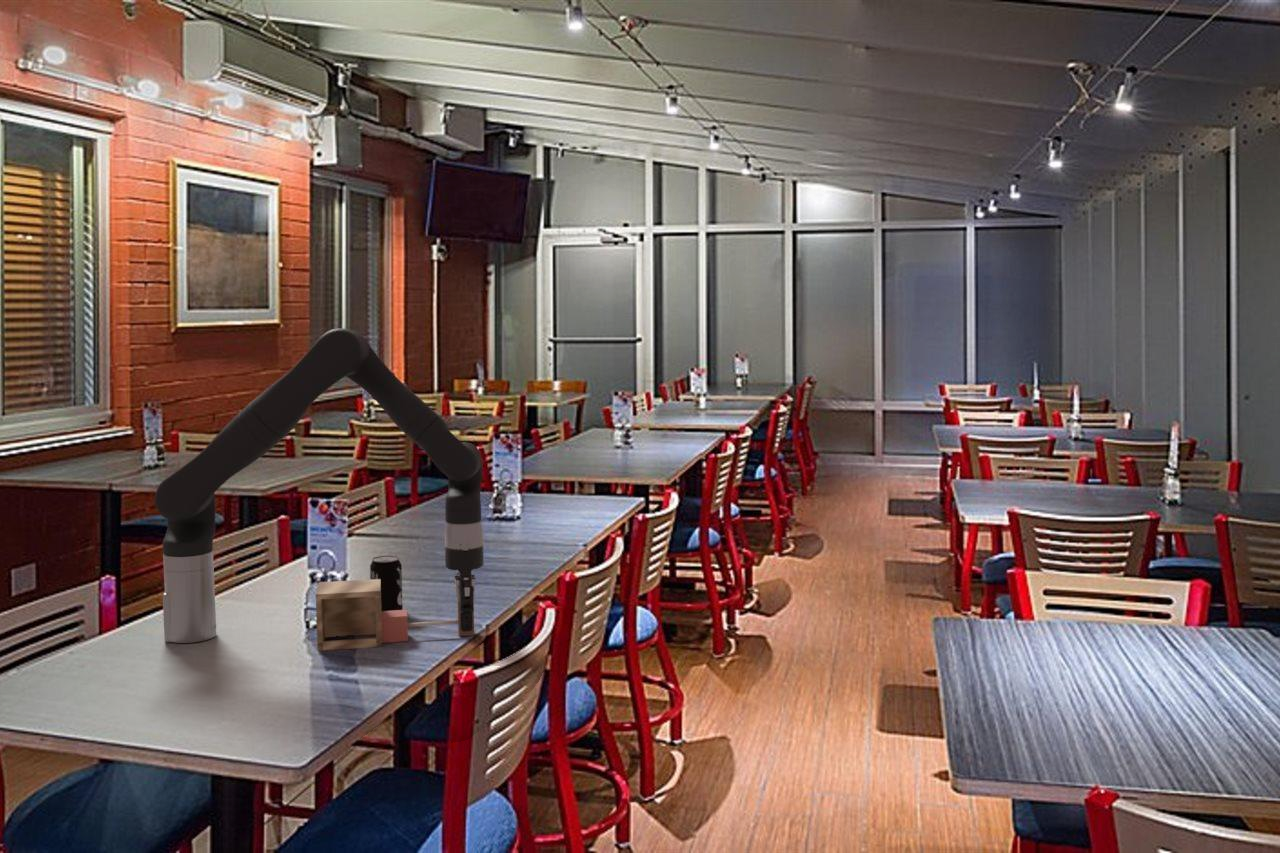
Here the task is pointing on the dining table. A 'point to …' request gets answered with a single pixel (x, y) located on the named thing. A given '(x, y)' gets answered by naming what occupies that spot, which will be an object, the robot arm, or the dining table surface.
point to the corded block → (412, 625)
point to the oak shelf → (348, 613)
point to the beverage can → (388, 581)
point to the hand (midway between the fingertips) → (466, 628)
